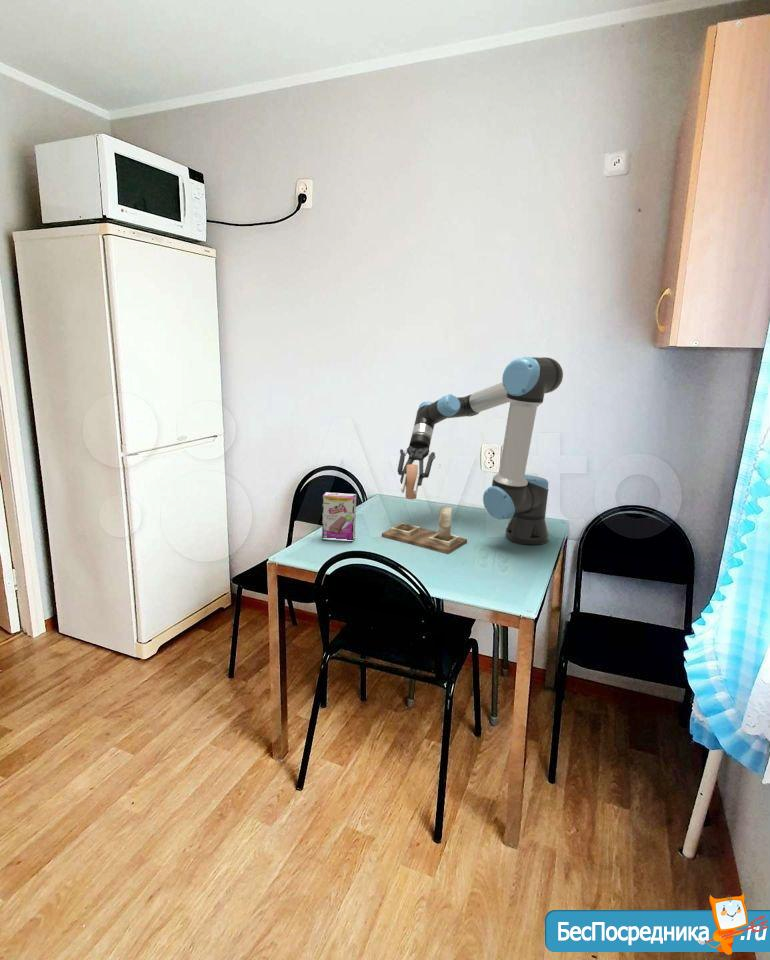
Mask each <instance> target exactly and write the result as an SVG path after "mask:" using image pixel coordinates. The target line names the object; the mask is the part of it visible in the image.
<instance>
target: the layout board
mask: <svg viewBox="0 0 770 960" xmlns="http://www.w3.org/2000/svg"><path fill="white" fill-rule="evenodd" d="M452 511H453V509H452V507H450V506H441V507H439V518H438V519H439V520H438V522H439V523H438V531H435V530H430V529H426V528H422V527H420V526H418V525H413V524H409V523H404V522H401V523H398V524H396V525H394V526H391V527H389V530H386V531H384V532H382V533H381V537H384V538H385V539H389V540H395V541H398V542H402V543H405V544H410V545H412V546H416V547H420V548H424V549H428V550H431V551H432V550H433V551H435V552H439V553H443V554H446V555H448V554H450V553H452V552H454V551H456V550H457V549H459V548H460V547H462V546H463V545H465V544H467V543H468V538H464V537H460V536H459V535H455V534H452V533H451V529H452V528H451V527H452V525H451V524H452Z"/></svg>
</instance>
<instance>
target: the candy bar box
mask: <svg viewBox="0 0 770 960" xmlns="http://www.w3.org/2000/svg"><path fill="white" fill-rule="evenodd" d="M356 512H357V494H356V493H341V492H330V491H329V492H327V491H326V492H324V493H323V495H322V519H321V520H322V522H321V524H322V525H321V526H322V527H321V530H322V531H321V539H322V538H336V539H347V540H353V539H354V537H355V538H356V521H357V520H356V518H357V515H356ZM354 540H355V539H354ZM354 540H353V541H354Z"/></svg>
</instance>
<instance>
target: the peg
mask: <svg viewBox="0 0 770 960" xmlns="http://www.w3.org/2000/svg"><path fill="white" fill-rule="evenodd" d="M418 468H419V465H418V464H415V463H414V464H413V463H412V464H409V465H407V472H406V487H405V499H408V500H415V499H417V495H418V493H417V494H414V491H413V490H414V486H415V481H416V477H417V475H419V473H418V472H419V471H418V470H419V469H418Z"/></svg>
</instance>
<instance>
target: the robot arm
mask: <svg viewBox="0 0 770 960" xmlns="http://www.w3.org/2000/svg"><path fill="white" fill-rule="evenodd" d="M501 377H502V380H501V381H502V382H499V383H496V384H493V385H491V386H489V387H487V388H484V389H482V390H479V391H476V392H473V393H472V394H469V395H466V396H462V397H461V396H460V397H458V396H456V395H453V394H446V395H444V396H442V397H440V398H439V399H438V400H436V401H434V402H432V401H429V400H428V401H423V402H421V403H420V404H419V406H418V409H417V411H416V415H415V420H414V425H413V429H412V433H411V436H410V441H409V445H408V447H407V448H406V449H403V448H401V449H400V450H399V453H400V456H399V460H398V461H399V462H398V465H397V474H398V475H399V476H401V477H400V479H399V481H400V484H401V487H400V491H401V493H402V494H405V492H406V472H407V465H409V464H413V463H414V462H415V461H418V463H419V465H418V468H419V469H418V470H419V471H418V472H419V473H418V474H417V477H416V481H415V486H414V490H413V491H414V494H417V495H418V490H419V487H421V486H422V485H423V479H428V478H429V476H430V473H431V469H432V466H433V462H434V460H435V459H436V453H435V452H434V451H432V452H431V451H430V447H431V440H432V437H433V433H434V427H435V425H436V424H438V423H441V422H442V421H444V420H447V419H454V418H461V417H462V418H463V417H469V418H470V417H474V416H477V415H479V414H480V413H481V412H483V411H487V410H490V409H493V408H495V407H499V406H501V405H504V404H507V403H509V407H508V408H509V409H508V415H507V420H506V425H505V434H504V439H503V445H502V451H501V454H500V455H501V457H500V463H499V467H498V468H499V469H498V472H497V473H496V474H494V475H493V477H492V483H491V486H489V487H488V488H487V489H485V491H484V493H483V495H482V501H483V503H482V504H483V506H484V509H485V510H486V512H487V513H488V514H489V515H490V516H491V517H492V518H494V519H495V520H501V521H502V520H509V521H508V524H507V527H506V528H505V534H504V535H505V539H507V540H509V541H511V542H513V543H516V544H520V543H521V544H520V545H526V544H540V545H543V544H542V543H544V544H546V543H548V541H549V531H548V527H547V523H546V513H547V512H546V511H547V505H548V504H547V503H548V496H549V495H548V494H549V481H548V479H546V478H544V477H540V476H535V475H529V474H526V468H527V465H528V458H529V453H530V452H529V451H530V447H531V442H532V436H533V430H534V426H535V419H536V415H537V409H538V407H539V406H540V405H542V404H543V402H544V399H545V398H544V397H545V394H548V393H552V392H554V391H556V390H557V389H558V388H559V387H560V385H561V384H562V381H563V377H564V371H563V367H562V366H561V364H560V363H559V362H558V361H557V360H555V359H554V358H551V357H537V356H536V357H535V356H533V357H531V356H524V357H519V358H515V359H513V360H511V362H509V363H508V364H507V366H506V367H505V368H504V370H503V372H502V376H501ZM407 454H408V458H407V460H406V463H405V459H406V456H407ZM426 457H428V459H427V463H426V466H425V469H424V459H426ZM404 463H405V464H404ZM545 542H546V543H545Z"/></svg>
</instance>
